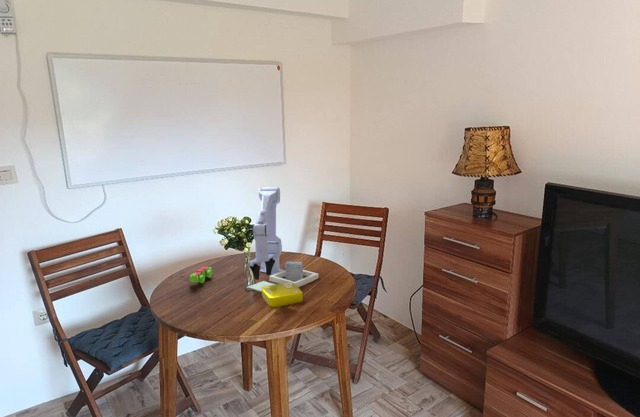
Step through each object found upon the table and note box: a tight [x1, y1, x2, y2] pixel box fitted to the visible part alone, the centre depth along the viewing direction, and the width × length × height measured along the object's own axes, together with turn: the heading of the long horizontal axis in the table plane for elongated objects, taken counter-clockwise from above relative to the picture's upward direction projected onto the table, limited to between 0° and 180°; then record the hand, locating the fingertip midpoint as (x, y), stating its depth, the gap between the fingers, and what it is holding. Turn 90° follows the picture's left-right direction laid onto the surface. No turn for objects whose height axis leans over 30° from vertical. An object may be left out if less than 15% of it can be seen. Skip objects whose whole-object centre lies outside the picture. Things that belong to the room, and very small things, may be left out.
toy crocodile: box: [189, 266, 213, 284], centre depth 213 cm, size 20×7×6 cm, turn 169°
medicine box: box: [284, 260, 304, 282], centre depth 211 cm, size 8×4×9 cm, turn 77°
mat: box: [247, 280, 276, 293], centre depth 203 cm, size 10×10×1 cm
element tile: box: [261, 282, 304, 308], centre depth 189 cm, size 15×15×5 cm
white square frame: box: [268, 269, 319, 288], centre depth 212 cm, size 17×17×2 cm
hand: (262, 277), depth 202 cm, fingers open, 7 cm apart
